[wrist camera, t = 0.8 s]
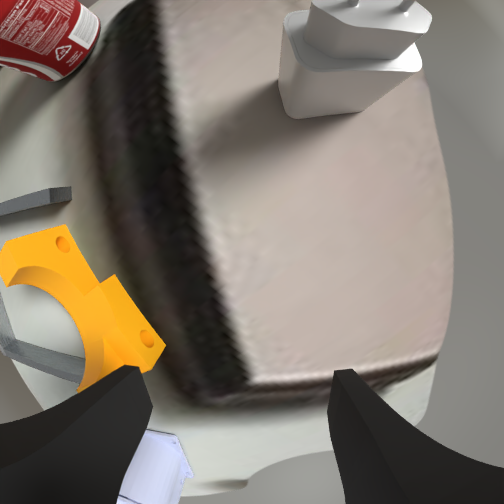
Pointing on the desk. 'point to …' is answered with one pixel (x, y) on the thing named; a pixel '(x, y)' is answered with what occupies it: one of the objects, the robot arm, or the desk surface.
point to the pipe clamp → (83, 302)
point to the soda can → (46, 36)
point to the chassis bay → (3, 335)
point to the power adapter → (347, 54)
